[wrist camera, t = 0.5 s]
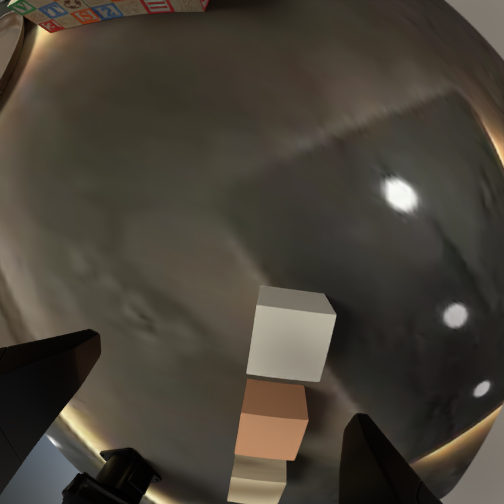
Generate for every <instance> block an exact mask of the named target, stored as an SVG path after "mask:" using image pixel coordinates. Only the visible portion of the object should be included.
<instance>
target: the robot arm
mask: <svg viewBox="0 0 504 504" xmlns="http://www.w3.org/2000/svg"><path fill="white" fill-rule="evenodd" d="M100 354H101V341H100V334H99V333H98V332H96V331H94V330H91V329H87V330H83V331H78V332H74V333H69V334H65V335H61V336H56V337H52V338H47V339H42V340H38V341H33V342H28V343H23V344H18V345H13V346H9V347H8V348H7V347H3V348H0V495H1V493H2V492H3V490H4V489H5V487H6V486H7V485H8V483H9V481H10V480H11V479H12V477H13V476H14V474H15V473H16V472H17V470H18V469H19V467H20V466H21V465H22V463H23V462H24V460H25V459H26V457H27V456H28V455H29V453H30V452H31V450H32V449H33V447H34V446H35V445H36V444H37V442H38V441H39V440H40V438H41V437H42V436H43V434H44V433H45V432H46V430H47V429H48V428H49V426H50V425H51V424H52V423H53V421H54V420H55V419H56V417H57V416H58V415H59V414H60V412H61V411H62V410H63V408H64V407H65V406H66V405H67V403H68V402H69V401H70V400H71V398H72V397H73V396H74V395H75V393H76V392H77V391H78V389H79V388H80V387H81V385H82V384H83V382H84V381H85V379H86V378H87V376H88V374H89V373H90V371H91V370H92V368H93V366H94V365H95V363H96V362H97V360H98V359H99V357H100ZM100 455H101V457H102V458H103V459H104V460H105V461H106V463H105V465H104V466H103V468H102V469H101V471H100V472H99V474H98V475H97V477H96V478H95V479H94V478H93V477H91V476H90V475H89V474H88V473H86V472H84V473H83V474H80V473H78V474H77V475H76V477H75V478H74V479H73V480H72V482H71V483H70V484H69V485H68V486H67V487H66V488H65V489H64V490H63V491H62V495H63V502H62V504H139V503H140V501H141V499H142V497H143V495H145V493H146V491H147V489H148V487H149V485H150V483H154V482H161V480H162V478H161V477H160V476H159V475H158V474H156V473H155V472H154V471H153V470H152V469H151V468H150V467H149V466H148V465H147V464H146V463H145V462H144V461H143V460H142V459H141V458H140V457H139V456H138V455H137V453H136V452H135V451H134V450H133V449H131V448H124V449H116V450H107V451H101V452H100ZM339 504H443V503H442V502H441V501H440V500H439V499H438V498H437V497H436V496H435V495H434V494H433V493H432V492H431V490H430V489H429V488H428V487H427V486H426V485H425V483H424V482H423V481H421V479H420V478H419V476H418V475H417V474H416V473H415V472H414V470H413V469H412V468H411V467H410V465H409V464H408V463H407V462H406V461H405V459H404V458H403V457H402V456H401V455H400V453H399V452H398V451H397V450H396V448H395V447H394V446H393V445H392V444H391V442H390V441H389V440H388V439H387V437H386V436H385V435H384V434H383V433H382V431H381V430H380V429H379V428H378V426H377V425H376V424H375V423H374V422H373V420H372V419H371V418H370V417H369V416H368V415H367V414H362V413H356V414H355V415H354V416H353V418H352V419H351V420H350V422H349V423H348V425H347V426H346V428H345V430H344V433H343V443H342V452H341V461H340V470H339Z"/></svg>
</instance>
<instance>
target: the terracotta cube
mask: <svg viewBox="0 0 504 504" xmlns="http://www.w3.org/2000/svg"><path fill="white" fill-rule="evenodd" d="M308 420H309V419H308V412H307V404H306V396H305V389H304V386H303V385H293V384H284V383H275V382H267V381H260V380H253V379H247V384H246V390H245V395H244V401H243V406H242V411H241V417H240V423H239V430H238V436H237V442H236V448H235V454H237V455H244V456H251V457H259V458H268V459H279V460H292V461H294V460H295V458H296V455H297V452H298V449H299V447H300V444H301V441H302V438H303V435H304V432H305V429H306V427H307V424H308Z"/></svg>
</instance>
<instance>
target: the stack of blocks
mask: <svg viewBox="0 0 504 504" xmlns="http://www.w3.org/2000/svg"><path fill="white" fill-rule="evenodd" d="M208 2H209V0H11V2H10V3H9V5H8V6H7V7H8V8H10V9H11V10H13V11H15V12H16V13H18V14H19V15H21V16H25V17H26V18H27V19H29V20H31V21H32V22H34V23H35V24H38V25H39V26H41V27H42V28H43V29H45V30H46V31H48V32H50V33H52V32H55V31H58V30H62V29H65V28H66V29H67V28H71V27H75V26H79V25H82V24H88V23H92V22H97V21H102V20H106V19H111V18H118V17H123V16H130V15H138V14H147V13H149V14H153V13H167V12H204V11H205V9H206V7H207V5H208Z"/></svg>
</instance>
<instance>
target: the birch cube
mask: <svg viewBox="0 0 504 504" xmlns="http://www.w3.org/2000/svg"><path fill="white" fill-rule="evenodd" d="M285 485H286V460H279V459H268V458H259V457H251V456H244V455H237V454H236V456H235V461H234V466H233V471H232V476H231V482H230V488H229V493H228V499H227V501H230V502H237V503H245V504H278V501H279V499H280V497H281V495H282V492H283V490H284V487H285Z"/></svg>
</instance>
